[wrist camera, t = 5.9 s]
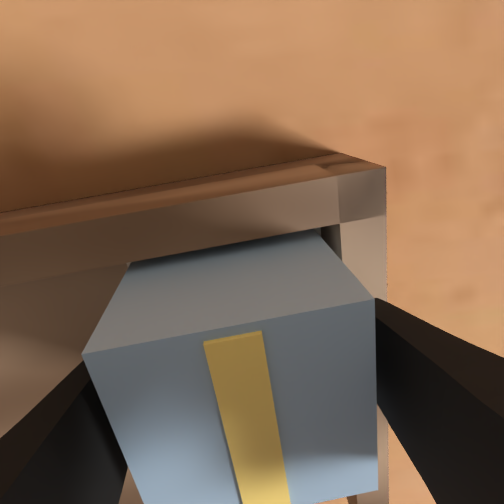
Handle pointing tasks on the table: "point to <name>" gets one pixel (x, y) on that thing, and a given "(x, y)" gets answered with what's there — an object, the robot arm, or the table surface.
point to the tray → (162, 244)
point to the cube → (241, 374)
